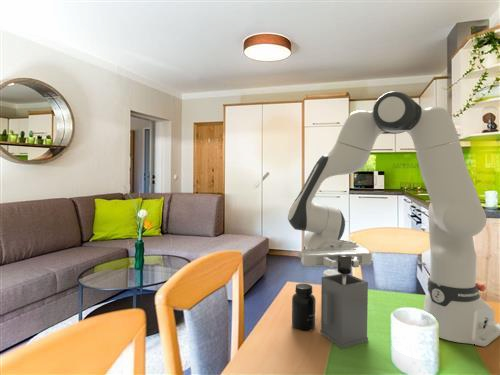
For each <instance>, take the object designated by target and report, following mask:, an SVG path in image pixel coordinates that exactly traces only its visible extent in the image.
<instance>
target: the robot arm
mask: <svg viewBox="0 0 500 375" xmlns="http://www.w3.org/2000/svg"><path fill="white" fill-rule="evenodd" d="M340 129H341V130H340V132H339V134H338V137H337V139H336V142H335V144H334V146H333V148H332V149H331V150H330V151H329V152H328V153H327V154H324V155H322V156H321V157H320V158H319V159H318V160H317V161H316V163H315V164H314V166H313V168H312V170H311V171H310V174H309V175H308V177H307V179H306V180H305V182H304V185H303V186H302V188H301V190H300V192H299V194H298V196H297V197H296V199H294V201H293V203H292V204H291V207H290V208H289V210H288V214H287V215H288V216H287V220H288V222H289V224H290V226H291V227H292V228H293V229H294V230H297V231H303V232H307V233H306V234H305V235H304V238H303V246H304V249H301V251H300V252H297V253H296V256H297V257H298V258H300V259H301V260H300V262H301V264H302V265H303V266H304V267H307V268H315V267H316V268H317V267H318V268H319V267H325V268H331V269H337V267H338V255H340V254H346V255H350V256H351V268H359V267H360V266H369V265H370V266H371V264H372V260H373V256H372V254H373V253H372V252H371V251H370V250H369V249H368V248H366V247H363V246H362V245H359V244H357V242H356V241H352V240H344V239H343V240H341V239H342V237H343V235H344V233H345V228H346V220H345V217H344V215H343V212H342V211H341V210H340V209H339V208H335V207H332V206H328V205H322V204H319V203H315V202H312V201H313V200H314V197H315V196H316V194H317V193H318V191H319V189H320V187H321V185H322V183H323V182H324V181H325V180H326V179H329V178H330V177H331V178H332V177H336V176H342V175H351V174H353V173H356V172H359V171H361V170H362V169H364V168H365V166H366V164H367V163H368V161H369V159H370V156H371V153H372V151H373V148H374V146H375V145H374V144H375V143H376V141H377V138H378V137H379V136H380V135H381V134H383V135H386V134H390V135H392V134H393V135H395V134H396V135H397V134H398V135H399V134H402V133H408V134H409V135H410V138H411V141H412V143H413V146H414V150H415V154H416V159H417V162H418V167H419V170H420V175H421V179H422V181H423V183H424V186H425V188H426V192H427V194H428V197H429V201H430V203H429V205H428V235H429V248H430V249H429V252H430V256H429V257H430V258H429V259H430V260H429V261H430V262H429V277H428V279H427V284H426V285H427V293H425V297H424V302H423V303H424V305H423V310H424V311H426V312H428V313H430V314H432V315H433V316H434V317H435V318H436V320H437V321H438V323H439V337H438V338H440V339H443V340H446V341H450V342H455V343H460V344H461V343H463V344H471V345H474V344H475V346H480V347H487V346H488V345H489V344H491V343H492V342H493V341H494V340H496V339H498V337H500V323H499V322H496V321H495V310H494V309H493V307H492V306H491V305H489V304H488V303H487V302H486V301H485V300H483V299H482V298H481V295H480V292H485V290H486V285H485V284H483V283H479V282H476V281H477V261H478V260H477V258H478V257H477V253H476V249H475V244H474V237H475V236H477V235H478V234H480V233H481V232H482V231H483V229H485V227H486V223H487V215H486V212H485V209H484V208H483V205H482V203H481V200H480V197H479V195H478V193H477V190H476V187H475V185H474V182H473V180H472V178H471V176H470V173H469V171H468V167H467V163H466V159H465V156H464V153H463V152H464V151H463V148H462V145H461V144H462V143H461V141H460V138H459V134H458V130H457V128H456V126H455V123H454V121H453V118H452V117H451V115H450V113H449V111H448V110H447V109H445V108H444V107H440V106H431V107H426V108H422V106H420V104H418V103H417V102H416V101H415V100H414V99H413V98H412V97H411V96H410V95H408V94H407V93H405V92H402V91H397V90H395V91H394V90H393V91H389V92H386V93H384V94H382V95H381V96H380V97H378V98H377V100H376V101H375V102H374V105H373V108H372V110H371V111H367V110H362V109H361V110H360V109H359V110H356V111H353V112H351V113H350V114H349V115H348V116H347V118H346V120H345V121H344V124H343V125H342V127H341V128H340Z"/></svg>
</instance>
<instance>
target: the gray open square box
mask: <svg viewBox="0 0 500 375" xmlns="http://www.w3.org/2000/svg"><path fill="white" fill-rule="evenodd" d="M320 288H321V290H320V291H321V298H320V299H321V301H320V302H321V303H320V308H321V310H320V320H321V321H320V322H321V323H320V329H319V333H320V334H321V335H322V336H324V337H325V338H326V339H328V340H329V341H330V342H332V343H333V344H334V345H335V346H337V347H338V348H339V349H340V350H341V349H342V350H343V349H345V348H349V347H352V346H355V345H359V344H362V343H365V342H366V343H367V342H368V341H369V337H368V304H369V303H368V301H369V300H368V298H369V296H368V295H369V283H368V281H366V280H365V279H364V280H363V279H362V278H359V277H356V276H355V275H351V274H346V285H342V274H337V275H331V276H326V277H324V276H321V286H320Z"/></svg>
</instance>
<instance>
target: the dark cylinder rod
mask: <svg viewBox="0 0 500 375" xmlns="http://www.w3.org/2000/svg"><path fill="white" fill-rule="evenodd" d="M336 270H337V272H338V273H341V274H342V285H346V274H349V275H351V274H352V266H351V256H350V255H346V254H340V255H338V266H337V268H336Z"/></svg>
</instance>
